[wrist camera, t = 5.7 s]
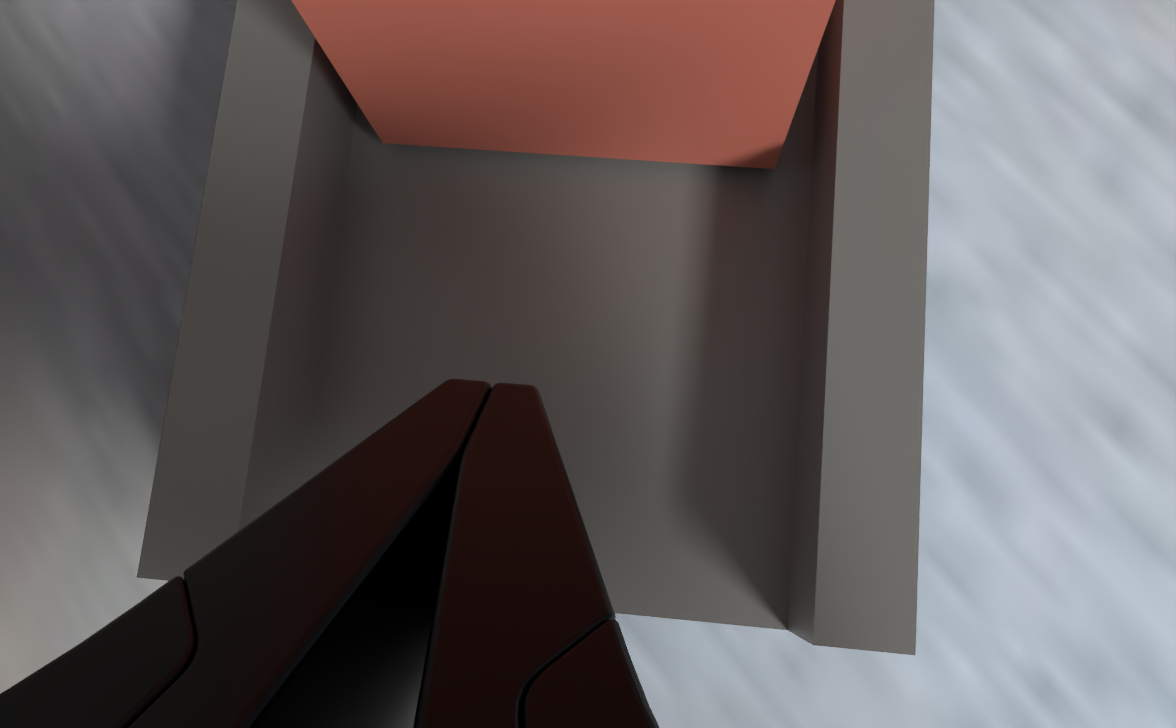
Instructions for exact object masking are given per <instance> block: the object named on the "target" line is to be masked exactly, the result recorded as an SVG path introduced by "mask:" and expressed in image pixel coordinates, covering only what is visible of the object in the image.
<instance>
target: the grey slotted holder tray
mask: <svg viewBox="0 0 1176 728" xmlns="http://www.w3.org/2000/svg"><path fill="white" fill-rule="evenodd" d="M933 30H934V0H836V1H835V4H834V6H833V9H832V12H831V15H830V17H829V20H828V23H827V26H826V28H825V31H824V34H823V37H822V39H821V42H820V45H819V48H818V50H817V53H816V56H815V59H814V61H813V64H812V67H811V70H810V72H809V75H808V78H807V81H806V83H805V86H804V89H803V92H802V94H801V97H800V100H799V103H798V105H797V108H796V111H795V114H794V116H793V119H792V122H791V125H790V127H789V130H788V133H787V136H786V138H785V141H784V144H783V147H782V149H781V152H780V155H779V158H778V160H777V163H776V166H775V169H765V168H750V167H735V166H720V165H704V164H689V163H674V162H659V161H644V160H629V159H614V158H599V157H584V156H569V155H554V154H539V153H524V152H509V151H494V150H479V149H464V148H448V147H433V146H418V145H403V144H388V143H382V141H381V140H380V138H379V137H378V135H377V133H376V132H375V130H374V129H373V127H372V126H371V124H370V123H369V121H368V119H367V118H366V116H365V115H364V113H363V112H362V110H361V108H360V107H359V105H358V104H357V102H356V101H355V99H354V97H353V96H352V94H351V93H350V91H349V90H348V88H347V87H346V85H345V83H344V82H343V80H342V79H341V77H340V76H339V74H338V72H337V71H336V69H335V68H334V66H333V65H332V63H331V62H330V60H329V58H328V57H327V55H326V54H325V52H324V51H323V49H322V47H321V46H320V44H319V43H318V41H317V40H316V38H315V36H314V35H313V33H312V32H311V30H310V29H309V27H308V26H307V24H306V22H305V21H304V19H303V18H302V16H301V15H300V13H299V11H298V10H297V8H296V7H295V5H294V4H293V2H292V1H291V0H237V4H236V9H235V15H234V21H233V27H232V32H231V38H230V44H229V50H228V55H227V61H226V67H225V73H224V78H223V84H222V90H221V96H220V102H219V107H218V113H217V119H216V125H215V130H214V136H213V142H212V148H211V153H210V159H209V165H208V171H207V176H206V182H205V188H204V194H203V199H202V205H201V211H200V217H199V223H198V228H197V234H196V240H195V246H194V251H193V257H192V263H191V269H190V274H189V280H188V286H187V292H186V297H185V303H184V309H183V315H182V320H181V326H180V332H179V338H178V344H177V349H176V355H175V361H174V367H173V372H172V378H171V384H170V390H169V395H168V401H167V407H166V413H165V418H164V424H163V430H162V436H161V442H160V447H159V453H158V459H157V465H156V470H155V476H154V482H153V488H152V493H151V499H150V505H149V511H148V516H147V522H146V528H145V534H144V539H143V545H142V551H141V557H140V563H139V568H138V574H137V577H138V578H148V579H158V580H168V581H170V580H171V579H173V578H174V577H176V576H180V577H182V578H183V572H184V571H185V570H186V569H187V568H188V567H190V566H191V565H192V564H194V563H195V562H197V561H198V560H199V559H201V558H202V557H203V556H205V555H206V554H208V553H209V552H210V551H212V550H213V549H214V548H216V547H217V546H219V545H220V544H221V543H223V542H224V541H225V540H227V539H228V538H230V537H231V536H232V535H234V534H235V533H236V532H238V531H239V530H241V529H242V528H243V527H245V526H246V525H248V524H249V523H250V522H252V521H253V520H254V519H256V518H257V517H259V516H260V515H261V514H263V513H264V512H265V511H267V510H268V509H270V508H271V507H272V506H274V505H275V504H276V503H278V502H279V501H281V500H282V499H283V498H285V497H286V496H287V495H289V494H290V493H292V492H293V491H294V490H296V489H297V488H299V487H300V486H301V485H303V484H304V483H305V482H307V481H308V480H310V479H311V478H312V477H314V476H315V475H316V474H318V473H319V472H321V471H322V470H323V469H325V468H326V467H327V466H329V465H330V464H332V463H333V462H334V461H336V460H337V459H338V458H340V457H341V456H343V455H344V454H345V453H347V452H348V451H350V450H351V449H352V448H354V447H355V446H356V445H358V444H359V443H361V442H362V441H363V440H365V439H366V438H367V437H369V436H370V435H372V434H373V433H374V432H376V431H377V430H378V429H380V428H381V427H383V426H384V425H385V424H387V423H388V422H389V421H391V420H392V419H394V418H395V417H396V416H398V415H399V414H401V413H402V412H403V411H405V410H406V409H407V408H409V407H410V406H412V405H413V404H414V403H416V402H417V401H418V400H420V399H421V398H423V397H424V396H425V395H427V394H428V393H429V392H431V391H432V390H434V389H435V388H436V387H438V386H439V385H441V384H442V383H443V382H445V381H447V380H449V379H464V380H476V381H486V382H488V383H490V384H491V386H492V387H493V386H494V385H495V384H497V383H512V384H525V385H533V386H535V387H537V389H538V390H539V392H540V395H541V398H542V401H543V404H544V407H545V410H546V413H547V416H548V419H549V422H550V425H551V428H552V431H553V433H554V436H555V439H556V442H557V445H558V448H559V451H560V454H561V457H562V460H563V463H564V466H565V469H566V472H567V475H568V478H569V481H570V484H571V486H572V489H573V492H574V495H575V498H576V501H577V504H578V507H579V510H580V513H581V516H582V519H583V522H584V525H585V528H586V531H587V534H588V537H589V539H590V542H591V545H592V548H593V551H594V554H595V557H596V560H597V563H598V566H599V569H600V572H601V575H602V578H603V581H604V584H605V587H606V589H607V592H608V595H609V598H610V601H611V604H612V607H613V610H614V613H621V614H632V615H642V616H652V617H662V618H672V619H682V620H692V621H702V622H712V623H722V624H733V625H743V626H753V627H763V628H773V629H783V630H788V631H790V632H792V633H794V634H795V635H797V636H799V637H800V638H802V639H804V640H806V641H807V642H809V643H811V644H812V645H819V646H829V647H839V648H849V649H859V650H869V651H879V652H889V653H899V654H909V655H915V647H916V613H917V579H918V544H919V510H920V476H921V442H922V407H923V373H924V339H925V304H926V270H927V236H928V201H929V167H930V133H931V98H932V64H933ZM183 579H184V578H183Z"/></svg>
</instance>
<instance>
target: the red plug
mask: <svg viewBox="0 0 1176 728" xmlns="http://www.w3.org/2000/svg"><path fill="white" fill-rule="evenodd" d="M291 1H292V2H293V4H294V5H295V7H296V8H297V10H298V11H299V13H300V15H301V16H302V18H303V19H304V21H305V22H306V24H307V26H308V27H309V29H310V30H311V32H312V33H313V35H314V36H315V38H316V40H317V41H318V43H319V44H320V46H321V47H322V49H323V51H324V52H325V54H326V55H327V57H328V58H329V60H330V62H331V63H332V65H333V66H334V68H335V69H336V71H337V72H338V74H339V76H340V77H341V79H342V80H343V82H344V83H345V85H346V87H347V88H348V90H349V91H350V93H351V94H352V96H353V97H354V99H355V101H356V102H357V104H358V105H359V107H360V108H361V110H362V112H363V113H364V115H365V116H366V118H367V119H368V121H369V123H370V124H371V126H372V127H373V129H374V130H375V132H376V133H377V135H378V137H379V138H380V140H381V141H382V143H388V144H403V145H418V146H433V147H448V148H464V149H479V150H494V151H509V152H524V153H539V154H554V155H569V156H584V157H599V158H614V159H629V160H644V161H659V162H674V163H689V164H704V165H720V166H735V167H750V168H765V169H775V166H776V163H777V160H778V158H779V155H780V152H781V149H782V147H783V144H784V141H785V138H786V136H787V133H788V130H789V127H790V125H791V122H792V119H793V116H794V114H795V111H796V108H797V105H798V103H799V100H800V97H801V94H802V92H803V89H804V86H805V83H806V81H807V78H808V75H809V72H810V70H811V67H812V64H813V61H814V59H815V56H816V53H817V50H818V48H819V45H820V42H821V39H822V37H823V34H824V31H825V28H826V26H827V23H828V20H829V17H830V15H831V12H832V9H833V6H834V4H835V1H836V0H291Z"/></svg>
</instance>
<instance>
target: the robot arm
mask: <svg viewBox="0 0 1176 728" xmlns="http://www.w3.org/2000/svg"><path fill="white" fill-rule="evenodd" d="M183 578H184V579H183ZM183 578H182V577H180V576H176V577H174V578H173V579H171V580H170V581H168V582H167V583H166V584H164V585H163V586H161V587H160V588H159V589H157V590H156V591H155V592H153V593H152V594H150V595H149V596H148V597H146V598H145V599H144V600H142V601H141V602H139V603H138V604H137V605H135V606H134V607H132V608H131V609H129V610H128V611H126V612H125V613H124V614H122V615H121V616H119V617H118V618H116V619H115V620H113V621H112V622H110V623H109V624H108V625H106V626H105V627H103V628H102V629H100V630H99V631H97V632H96V633H95V634H93V635H92V636H90V637H89V638H87V639H86V640H84V641H83V642H82V643H80V644H78V645H77V646H75V647H74V648H72V649H71V650H69V651H67V652H66V653H64V654H63V655H61V656H60V657H58V658H56V659H55V660H53V661H52V662H50V663H49V664H47V665H45V666H44V667H42V668H41V669H39V670H37V671H36V672H34V673H33V674H31V675H30V676H28V677H26V678H25V679H23V680H22V681H20V682H19V683H17V684H15V685H14V686H12V687H11V688H9V689H7V690H6V691H4V692H2V693H1V694H0V728H659V726H658V723H657V721H656V719H655V717H654V715H653V713H652V711H651V709H650V707H649V704H648V702H647V699H646V697H645V694H644V691H643V689H642V686H641V684H640V681H639V679H638V676H637V673H636V671H635V668H634V666H633V663H632V661H631V658H630V655H629V653H628V650H627V647H626V644H625V641H624V638H623V635H622V632H621V629H620V626H619V624H618V622H617V621H616V620H615V613H614V610H613V607H612V604H611V601H610V598H609V595H608V592H607V589H606V587H605V584H604V581H603V578H602V575H601V572H600V569H599V566H598V563H597V560H596V557H595V554H594V551H593V548H592V545H591V542H590V539H589V537H588V534H587V531H586V528H585V525H584V522H583V519H582V516H581V513H580V510H579V507H578V504H577V501H576V498H575V495H574V492H573V489H572V486H571V484H570V481H569V478H568V475H567V472H566V469H565V466H564V463H563V460H562V457H561V454H560V451H559V448H558V445H557V442H556V439H555V436H554V433H553V431H552V428H551V425H550V422H549V419H548V416H547V413H546V410H545V407H544V404H543V401H542V398H541V395H540V392H539V390H538V389H537V387H535V386H533V385H525V384H512V383H497V384H495V385H494V386H493V387H492V386H491V384H490V383H488V382H486V381H476V380H464V379H449V380H447V381H445V382H443V383H442V384H441V385H439V386H438V387H436V388H435V389H434V390H432V391H431V392H429V393H428V394H427V395H425V396H424V397H423V398H421V399H420V400H418V401H417V402H416V403H414V404H413V405H412V406H410V407H409V408H407V409H406V410H405V411H403V412H402V413H401V414H399V415H398V416H396V417H395V418H394V419H392V420H391V421H389V422H388V423H387V424H385V425H384V426H383V427H381V428H380V429H378V430H377V431H376V432H374V433H373V434H372V435H370V436H369V437H367V438H366V439H365V440H363V441H362V442H361V443H359V444H358V445H356V446H355V447H354V448H352V449H351V450H350V451H348V452H347V453H345V454H344V455H343V456H341V457H340V458H338V459H337V460H336V461H334V462H333V463H332V464H330V465H329V466H327V467H326V468H325V469H323V470H322V471H321V472H319V473H318V474H316V475H315V476H314V477H312V478H311V479H310V480H308V481H307V482H305V483H304V484H303V485H301V486H300V487H299V488H297V489H296V490H294V491H293V492H292V493H290V494H289V495H287V496H286V497H285V498H283V499H282V500H281V501H279V502H278V503H276V504H275V505H274V506H272V507H271V508H270V509H268V510H267V511H265V512H264V513H263V514H261V515H260V516H259V517H257V518H256V519H254V520H253V521H252V522H250V523H249V524H248V525H246V526H245V527H243V528H242V529H241V530H239V531H238V532H236V533H235V534H234V535H232V536H231V537H230V538H228V539H227V540H225V541H224V542H223V543H221V544H220V545H219V546H217V547H216V548H214V549H213V550H212V551H210V552H209V553H208V554H206V555H205V556H203V557H202V558H201V559H199V560H198V561H197V562H195V563H194V564H192V565H191V566H190V567H188V568H187V569H186V570H185V571H184V572H183Z"/></svg>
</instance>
